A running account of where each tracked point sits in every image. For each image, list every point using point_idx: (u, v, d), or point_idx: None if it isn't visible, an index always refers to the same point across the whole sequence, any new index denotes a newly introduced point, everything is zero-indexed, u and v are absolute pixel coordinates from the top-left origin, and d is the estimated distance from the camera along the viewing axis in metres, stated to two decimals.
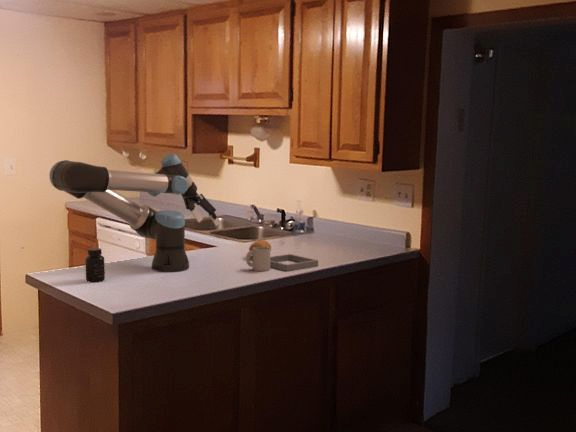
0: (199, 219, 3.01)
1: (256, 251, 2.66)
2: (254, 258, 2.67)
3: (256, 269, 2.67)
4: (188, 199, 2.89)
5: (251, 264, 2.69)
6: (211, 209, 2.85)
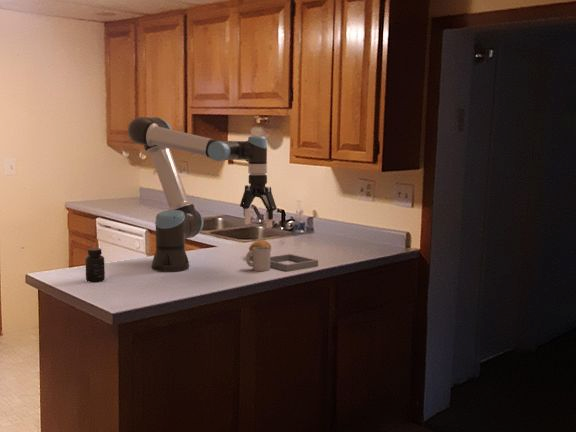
0: (247, 221, 2.73)
1: (256, 251, 2.66)
2: (254, 258, 2.67)
3: (256, 269, 2.67)
4: (252, 189, 2.67)
5: (251, 264, 2.69)
6: (273, 205, 2.61)
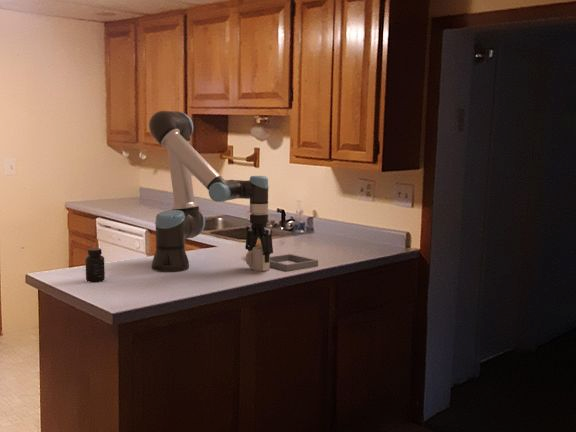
0: None
1: (256, 250, 2.66)
2: (254, 258, 2.67)
3: (256, 269, 2.67)
4: (253, 229, 2.67)
5: (251, 264, 2.69)
6: (269, 249, 2.63)
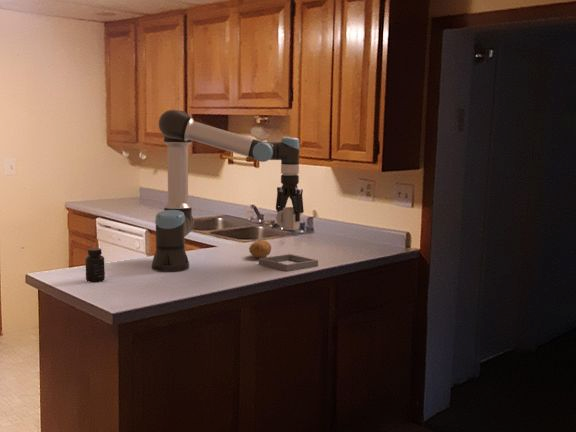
0: None
1: (286, 210, 2.74)
2: (284, 217, 2.75)
3: (286, 228, 2.75)
4: (284, 189, 2.75)
5: (281, 223, 2.77)
6: (300, 208, 2.71)
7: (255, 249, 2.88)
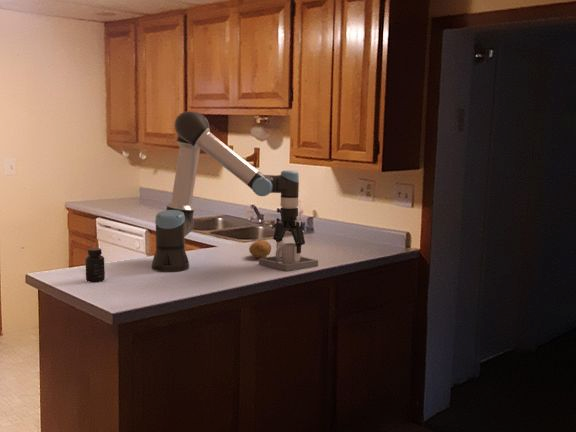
0: (280, 254, 2.83)
1: (286, 247, 2.76)
2: (284, 254, 2.77)
3: None
4: (283, 222, 2.77)
5: (281, 260, 2.79)
6: (301, 240, 2.72)
7: (255, 249, 2.88)
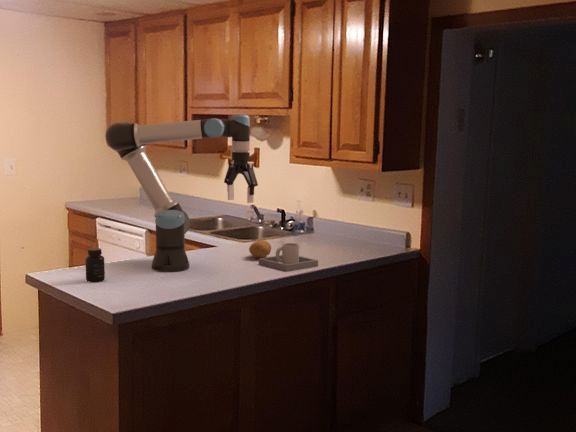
0: (230, 197, 2.84)
1: (286, 247, 2.76)
2: (284, 254, 2.77)
3: None
4: (235, 166, 2.78)
5: (281, 260, 2.79)
6: (254, 181, 2.72)
7: (255, 249, 2.88)
